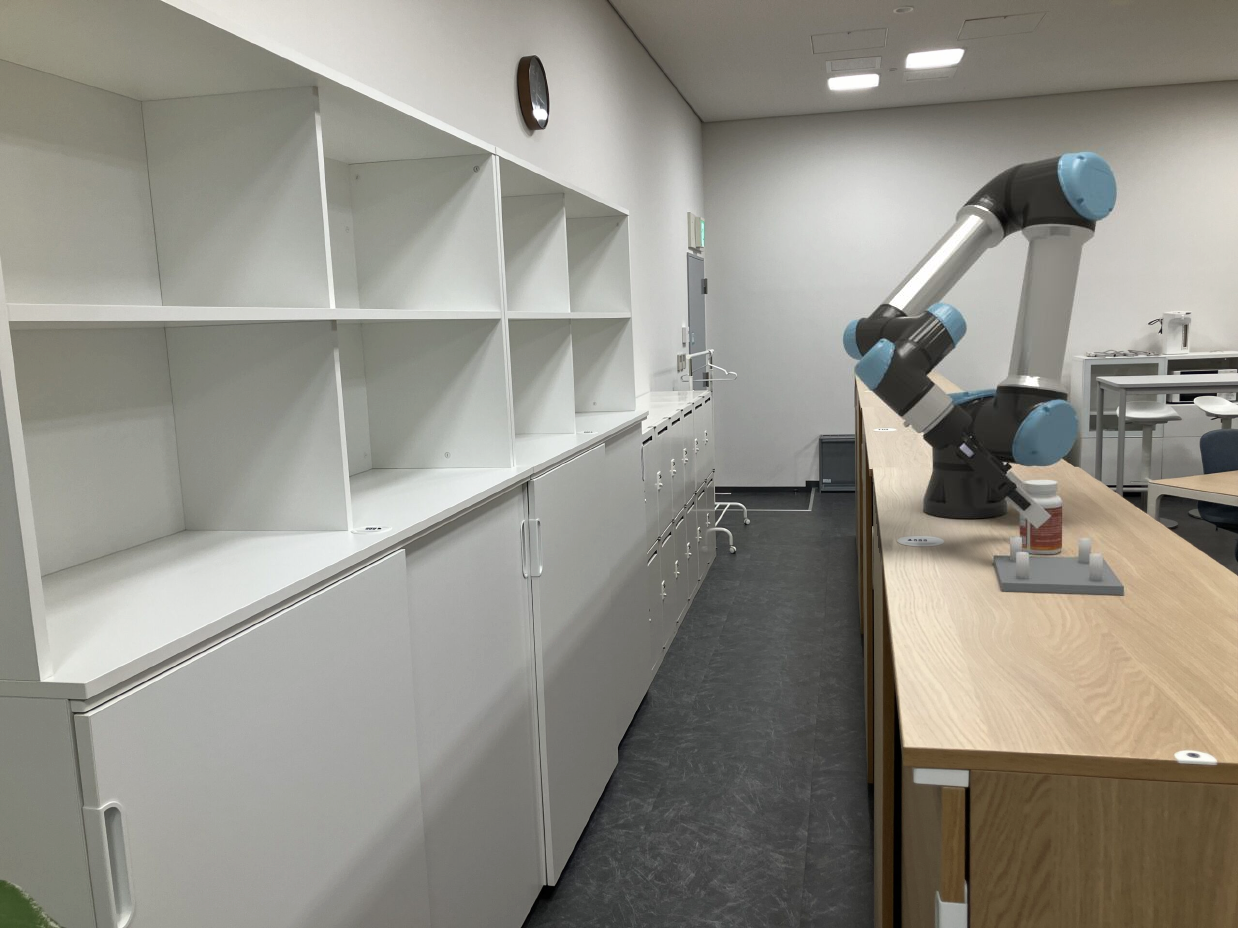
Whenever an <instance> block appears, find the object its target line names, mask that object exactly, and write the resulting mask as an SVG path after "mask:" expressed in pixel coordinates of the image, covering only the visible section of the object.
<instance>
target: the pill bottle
mask: <svg viewBox="0 0 1238 928" xmlns="http://www.w3.org/2000/svg"><path fill="white" fill-rule="evenodd" d="M1024 484H1025V491H1026V493H1027V494H1028V495H1029V496H1030V497H1031V498H1032V499H1033V500H1034V501H1035V502H1036V503H1038V504H1039V505H1040V506H1041V507H1042V508H1043V509H1044V510H1045V511H1046V512H1047V513H1048V514H1049V515H1051V517H1050V518H1049V519H1048V520H1046V521H1045V522H1044V523H1043V524H1042V525H1041V526H1040V527H1038V528H1036V527H1035V526H1033V525H1032V524H1031V523H1030V522H1029V521H1028V520H1027V519H1026V518H1025V517H1024V516H1023V515H1022V514H1021V513H1019V537H1022V552H1028V553H1029V554H1031V555H1054V554H1058V553H1060V552H1061V551H1062V549H1063V500H1062V498H1061V497H1060V496H1059V495H1057V494H1056V492H1057V491H1058V482H1057V481H1056V480H1051V479H1030V480H1026V481H1025V482H1024Z"/></svg>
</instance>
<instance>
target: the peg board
mask: <svg viewBox="0 0 1238 928" xmlns="http://www.w3.org/2000/svg"><path fill="white" fill-rule="evenodd" d="M1009 539H1010V541H1009V555H997V554H994V555H993V565H994V570H995V574H996V576H997V579H998V585H999V586H1000V590H1001V592H1014V593H1015V592H1018V593H1019V592H1020V593H1045V594H1046V593H1047V594H1048V593H1050V594H1051V593H1052V594H1075V595H1076V594H1078V595H1079V594H1080V595H1084V594H1085V595H1107V596H1108V595H1109V596H1124V595H1125V594H1124V593H1125V592H1124V591H1125V586H1124V584H1123V583H1122V582H1121V580H1120V579H1119V577H1118V576H1117V575H1116V573H1115V572H1114V571H1113V569H1112V568H1111V567H1110V565H1109V564H1108V562H1107V561H1106V560H1105V559H1104V555H1103V553H1098V552H1097V553H1096V552H1092V538H1089V537H1079V538H1078V553H1077V554H1078V556H1046V555H1040V556H1038V555H1031V556H1030V553H1028V552H1024V551H1022V537H1020V536H1010V537H1009Z"/></svg>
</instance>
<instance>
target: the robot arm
mask: <svg viewBox="0 0 1238 928" xmlns="http://www.w3.org/2000/svg"><path fill="white" fill-rule="evenodd" d="M1117 187H1118V186H1117V181H1116V178H1115V175H1114V172H1113V171H1112V169H1111V167H1110V164H1109V163H1108V162H1107V161H1106V159H1105V158H1104V157H1102V156H1101V155H1099V154H1097V153H1096V152H1092V151H1081V152H1074V153H1073V152H1068V153H1064V154H1063V155H1058V156H1054V157H1049V158H1046V159H1041V160H1036V161H1035V160H1034V161H1032V162H1027V163H1021V164H1017V165H1014V166H1012V167H1009V168H1008V169H1007V168H1006V169H1005V170H1004V171H1002V172H1000V173H999V174H997V175H996V176H994V177H993V178H992V179H991V180H989V181H988V182H987V183H986V184H984V186H982V187H981V188H979V190H977V191H976V192H975V194H973V195H972V196H971V197H970V198H969V199H968V200H967V201H966V203H964V204H963V206H962V207H961V208H960V209H959V210H958V211H957V213H956V216H955V223H954V224H953V225H952V226H951V227H950V228H949V229H947V231H946V232H945V233H944V235H943V236H942V237H941V238H940V239H938V241H937V242H936V243H935V244H934V245H933V247H931V249H929V251H928V252H927V253H926V254H925V255H924V256H923V257H922V259H921V260H920V261H919V262H918V263H917V264H916V265H915V266H914V268H912V270H911V271H910V272H909V273H908V274H907V275H906V276H905V277H904V278H903V279H902V280H901V281H900V283H899V284H898V285H897V286H896V287H895V288H894V289H893V291H892V292H891V293H890V294H889V295H887V297H886V298H885V299H883V301H882V302H881V303H880V305H879V306H877V308H876V309H875V310H874V311H873V312H872V313H871V314H870V315H869V316H867V317H862V318H861V317H860V318H859V319H854V320H852V321H850V322H849V323H848V324H847V326H846V327H845V330H844V331H843V335H842V342H843V343H842V344H843V349H844V351H845V352H846V354H847V355H848V356H849V357H850V358H852V359H853V360H856V361H857V360H858V362H857V363H856V364H855V365H854V369H853V371H854V373H855V376H857V377H858V379H859V380H860V381H861V382H862V383H863V384H864V385H865V387H866V388H867V389H868V390H869V391H870V392H872V393H873V394H875V396H876V397H878V398H879V399H880V400H881V401H883V403H884V404H885V405H886V406H888V407H889V408H890V409H891V410H892V411H893V412H894V413H895V414H897V415H898V417H900V418H901V419H902V420H904V421H903V423H902V425H903V427H904V428H908V427H910V426H911V429H913V430H914V432H915V433H917V434H922V433H923V435H922V437H923V439H922V440H924V441H925V442H926V443H927V444H928V445H929V446H930V447H931V449H932V451H931V452H932V473H931V475H930V478H929V481H928V484H927V486H926V491H925V494H924V496H923V501H922V502H923V503H922V505H923V507H922V509H923V510H922V511H923V512H924V513H926V514H929V515H932V516H937V517H942V518H951V519H952V518H953V519H984V518H985V519H986V518H992V517H999V516H1002V515H1005V514H1007V513H1008V503H1009V504H1010V505H1011V506H1012V507H1013V508H1014V509H1015V510H1016V511H1017V512H1018V513H1019V514H1020V513H1021V514H1022V515H1023V516H1024V517H1025V518H1026V519H1027V520H1028V521H1029V522H1030V523H1031V524H1032V525H1033V526H1035V527H1036V528H1038V527H1040V526H1041V525H1042V524H1043V523H1044V522H1045V521H1046V520H1048V519H1049V518H1050V517H1051V515H1049V514H1048V513H1047V512H1046V511H1045V510H1044V509H1043V508H1042V507H1041V506H1040V505H1039V504H1038V503H1036V502H1035V501H1034V500H1033V499H1032V498H1031V497H1030V496H1029V495H1028V494H1027V493H1026V491H1025V482H1023V480H1021V479H1020V478H1019V477H1018V476H1017V475H1016V474H1015V473H1014V472H1013V471H1011V469H1012V468H1013V466H1012V465H1011V464H1013V465H1019V466H1023V467H1049V466H1052V465H1055V464H1057V463H1058V462H1060V461H1061V460H1062V459H1063V458H1064V457H1065V456H1067V455H1068V454H1069V452H1070V451H1071V449H1072V448H1073V446H1074V445H1075V442H1076V440H1077V436H1078V433H1079V432H1078V431H1079V423H1080V422H1079V417H1078V416H1076V415H1077V411H1076V409H1075V407H1074V406H1073V404H1071V403H1069V402H1068V396H1069V392H1068V390H1067V389H1066V388H1065V387H1064V386H1063V384H1062V382H1061V381H1062V374H1063V369H1064V367H1063V366H1064V362H1065V356H1066V355H1065V354H1066V352H1067V351H1066V349H1067V344H1068V337H1069V331H1070V327H1071V325H1070V324H1071V319H1072V314H1073V307H1074V301H1075V295H1076V289H1077V283H1078V277H1079V270H1080V264H1081V258H1082V253H1083V252H1082V251H1083V246H1084V245H1085V244H1086V243H1088V242H1089V241H1090V240H1092V239H1093V238H1094V237H1095V231H1096V226H1097V222H1099V221H1102V220H1103V219H1105V218H1107V217H1108V216H1109V215H1110V213H1111V212H1112V211H1113V209H1114V208H1115V205H1116V202H1117V196H1118V195H1117V193H1118V192H1117V190H1118V189H1117ZM1020 231H1021V234H1022V235H1023V236H1024V238H1025V239H1026V240H1027V241H1028V249H1027V255H1026V262H1025V267H1024V273H1023V279H1022V280H1023V281H1022V285H1021V291H1020V292H1021V293H1020V298H1019V299H1020V300H1019V305H1018V309H1017V317H1016V323H1015V330H1014V335H1013V343H1012V349H1011V355H1010V361H1009V367H1008V372H1007V373H1008V374H1007V376H1006V377H1005V378H1004V379H1003V380H1001V382H999V383H997V386H996V388H988V389H986V388H985V389H979V390H971V391H970V390H969V391H960V392H953V393H951V392H950V393H947V392H945V391H944V390H943V388H941V387H940V386H939V385H938V384H937V383H935V382H934V381H933V380H932V379H931V378H930V377H929V374H930V373H931V372H932V371H933V370H934V369H935V368H936V367H937V366H938V365H939V363H941V362H942V361H943V360H944V359H945V358H946V357H947V356H948V355H949V354H950V353H952V351H953V350H955V349H956V348H957V345H958V343H960V341H961V340H962V339H963V338H964V336H965V335H966V333H967V330H968V325H967V322H966V320H965V318H964V315H963V314H962V313H961V312H960V311H959V310H958V309H957V308H956V307H955V306H953V305H951V304H949V303H946V302H941V301H942V300H943V298H945V297H946V295H947V294H948V293H949V292H950V291H951V290H952V289H953V287H955V285H956V284H958V282H959V281H960V280H961V279H962V278H963V276H965V275H966V273H967V272H968V271H969V270H970V269H971V267H973V265H974V264H975V263H976V262H977V261H978V259H980V258H981V257H982V255H983V254H985V252H987V250H988V249H992V248H995V247H997V246H999V245H1000V244H1001V243H1002V241H1003V240H1004V239H1005V238H1007V237H1008V236H1010V235H1013V234H1014V233H1017V232H1020Z"/></svg>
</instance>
